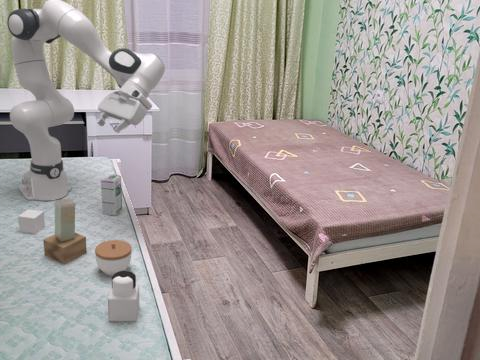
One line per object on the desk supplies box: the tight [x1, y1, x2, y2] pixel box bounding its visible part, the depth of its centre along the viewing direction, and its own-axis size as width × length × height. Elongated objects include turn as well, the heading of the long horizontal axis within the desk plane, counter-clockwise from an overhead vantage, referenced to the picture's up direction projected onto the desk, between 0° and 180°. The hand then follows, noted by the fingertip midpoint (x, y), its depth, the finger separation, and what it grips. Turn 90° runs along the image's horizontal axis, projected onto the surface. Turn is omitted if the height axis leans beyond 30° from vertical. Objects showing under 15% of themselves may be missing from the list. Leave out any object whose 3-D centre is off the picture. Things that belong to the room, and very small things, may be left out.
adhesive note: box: [17, 208, 46, 235], centre depth 171 cm, size 6×6×6 cm
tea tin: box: [53, 197, 77, 242], centre depth 153 cm, size 5×5×12 cm
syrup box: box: [100, 173, 123, 216], centre depth 186 cm, size 6×6×14 cm
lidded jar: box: [94, 239, 133, 277], centre depth 149 cm, size 11×11×9 cm
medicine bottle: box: [107, 270, 140, 322], centre depth 129 cm, size 7×7×12 cm
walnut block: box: [42, 232, 88, 265], centre depth 156 cm, size 9×9×6 cm
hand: (107, 128), depth 162 cm, fingers open, 8 cm apart
